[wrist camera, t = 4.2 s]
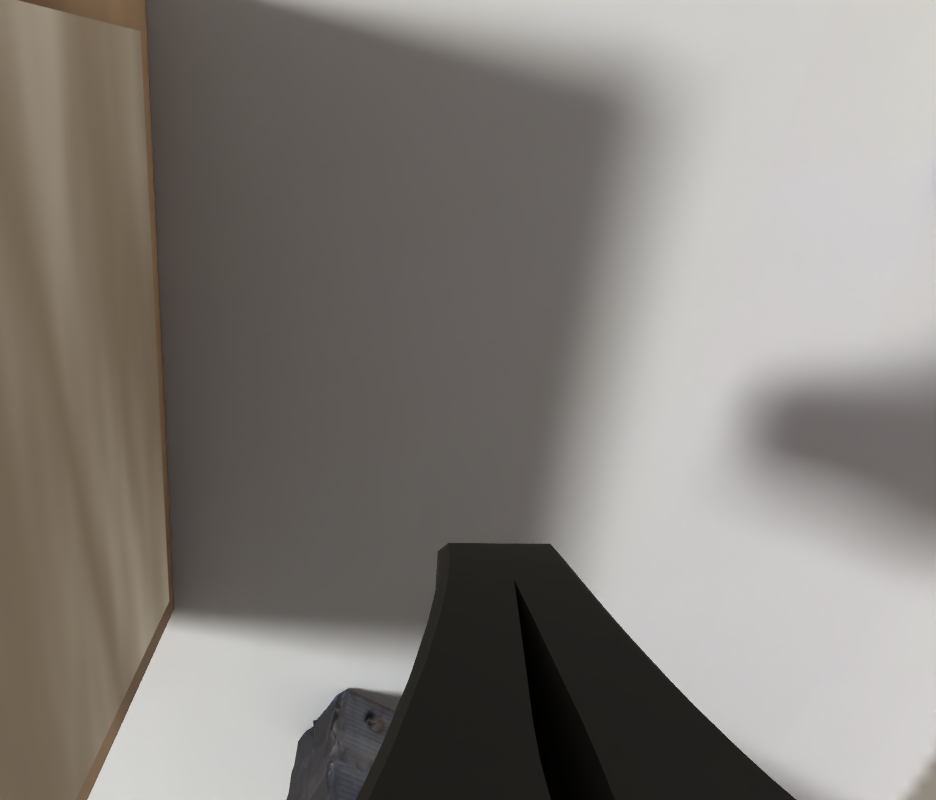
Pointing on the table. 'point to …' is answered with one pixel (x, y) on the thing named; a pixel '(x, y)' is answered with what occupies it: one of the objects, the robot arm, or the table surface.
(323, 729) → the vhs cassette tape
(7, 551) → the tan wooden block
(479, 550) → the robot arm
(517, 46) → the table surface
